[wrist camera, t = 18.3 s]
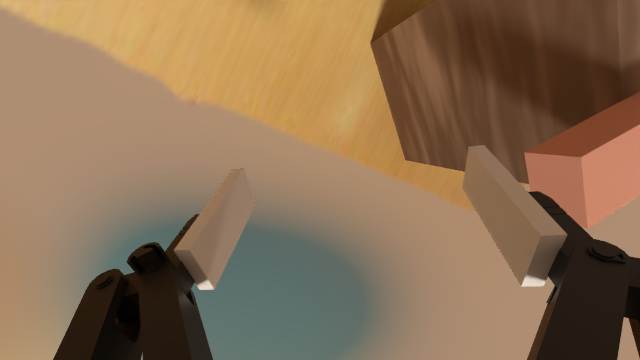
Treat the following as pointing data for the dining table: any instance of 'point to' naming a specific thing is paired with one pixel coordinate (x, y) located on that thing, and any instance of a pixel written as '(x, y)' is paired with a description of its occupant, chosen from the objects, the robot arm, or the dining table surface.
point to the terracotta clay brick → (591, 164)
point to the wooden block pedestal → (505, 74)
